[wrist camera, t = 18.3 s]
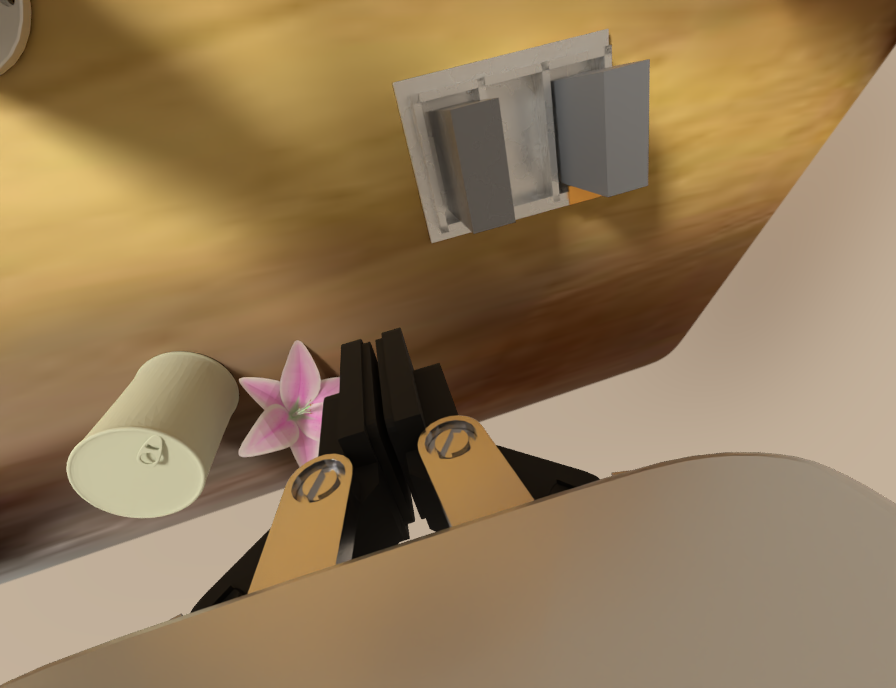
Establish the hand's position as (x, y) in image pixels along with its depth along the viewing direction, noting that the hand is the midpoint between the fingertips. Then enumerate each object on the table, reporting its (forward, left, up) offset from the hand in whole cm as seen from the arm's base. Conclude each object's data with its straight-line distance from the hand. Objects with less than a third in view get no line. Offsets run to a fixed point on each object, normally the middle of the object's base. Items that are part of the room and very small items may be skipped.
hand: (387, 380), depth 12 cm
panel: (-1, +19, -28) cm, 34 cm away
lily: (+16, -11, -29) cm, 35 cm away
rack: (-2, +14, -29) cm, 32 cm away
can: (+13, -22, -29) cm, 39 cm away
